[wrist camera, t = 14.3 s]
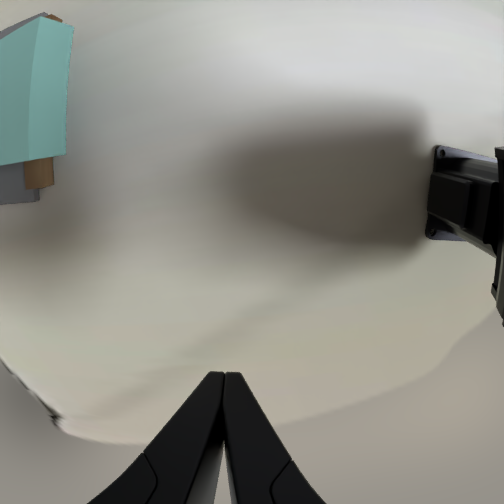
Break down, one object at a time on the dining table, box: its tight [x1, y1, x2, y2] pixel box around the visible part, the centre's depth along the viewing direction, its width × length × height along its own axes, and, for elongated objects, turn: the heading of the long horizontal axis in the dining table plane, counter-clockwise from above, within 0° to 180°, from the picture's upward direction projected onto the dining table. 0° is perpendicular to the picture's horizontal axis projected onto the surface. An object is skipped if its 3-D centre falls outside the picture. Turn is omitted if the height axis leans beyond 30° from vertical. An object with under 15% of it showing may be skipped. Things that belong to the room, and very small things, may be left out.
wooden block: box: [24, 14, 62, 190], centre depth 15 cm, size 2×12×2 cm, turn 178°
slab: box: [0, 16, 74, 166], centre depth 13 cm, size 3×8×9 cm
